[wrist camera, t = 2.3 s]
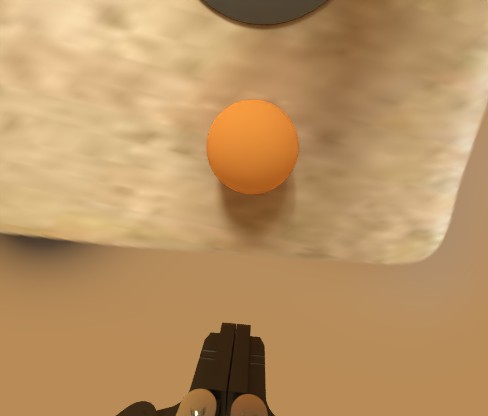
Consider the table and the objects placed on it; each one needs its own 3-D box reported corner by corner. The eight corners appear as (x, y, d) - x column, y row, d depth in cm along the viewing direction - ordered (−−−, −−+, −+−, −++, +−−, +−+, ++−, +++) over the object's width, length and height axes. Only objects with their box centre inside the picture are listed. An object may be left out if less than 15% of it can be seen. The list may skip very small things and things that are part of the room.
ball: (257, 91, 17) (255, 60, 11) (307, 152, 18) (330, 152, 12) (200, 146, 18) (173, 143, 13) (250, 202, 19) (245, 223, 13)
